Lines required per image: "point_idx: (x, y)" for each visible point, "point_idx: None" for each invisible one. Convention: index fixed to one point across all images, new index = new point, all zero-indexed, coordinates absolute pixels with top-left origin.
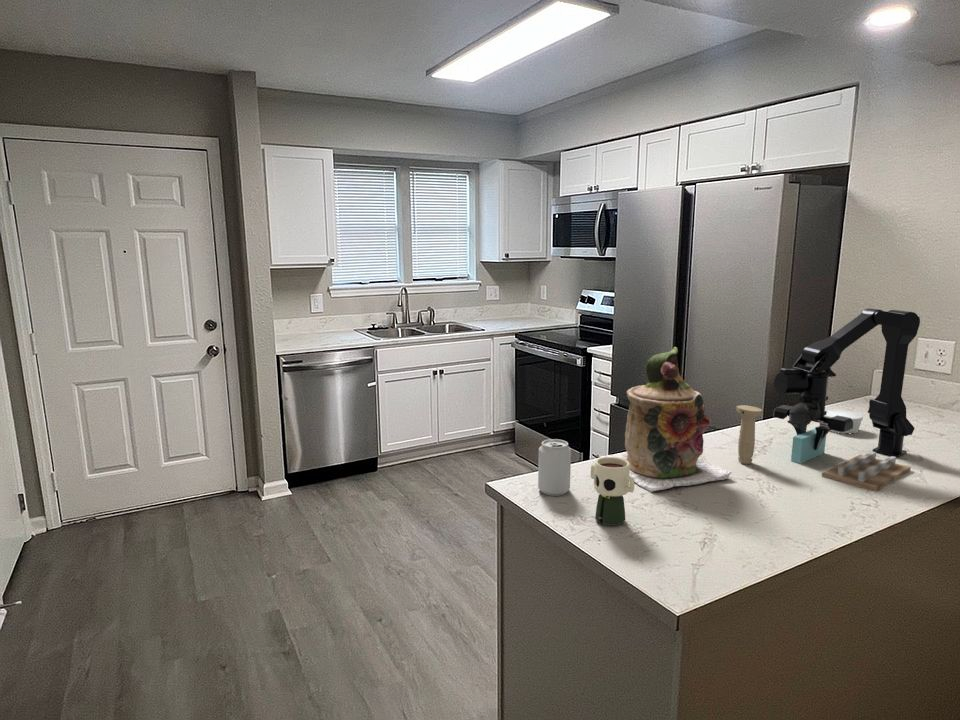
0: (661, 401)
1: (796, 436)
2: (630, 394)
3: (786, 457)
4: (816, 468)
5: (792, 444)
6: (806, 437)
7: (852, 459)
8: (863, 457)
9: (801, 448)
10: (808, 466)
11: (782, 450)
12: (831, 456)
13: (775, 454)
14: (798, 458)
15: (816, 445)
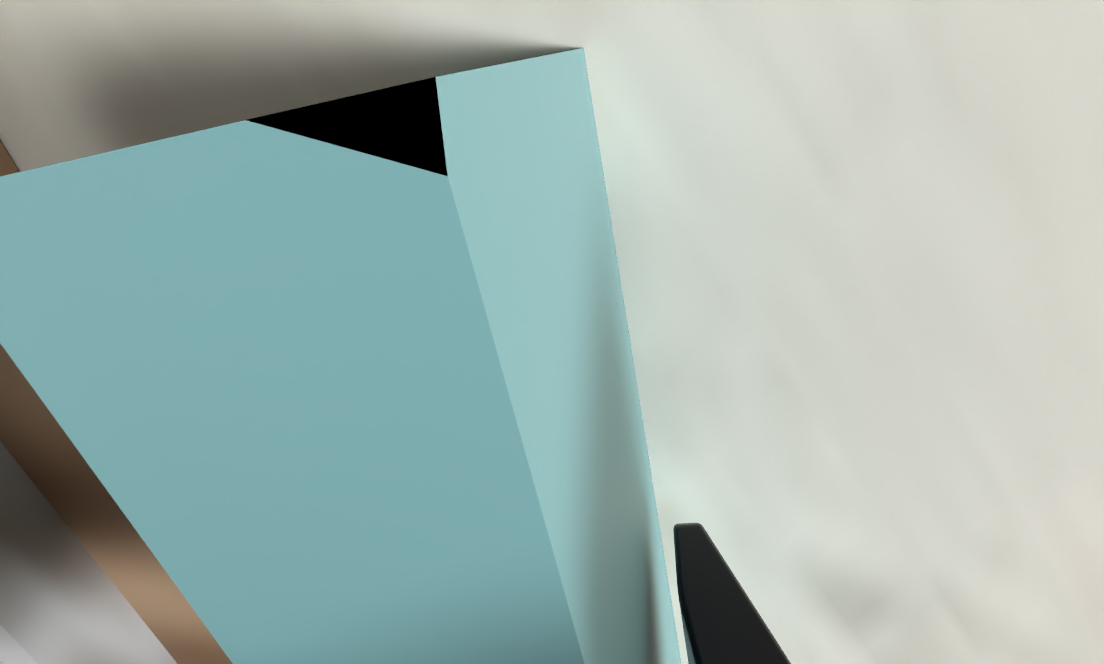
0: None
1: (375, 316)
2: None
3: (752, 163)
4: (176, 121)
5: (531, 62)
6: (181, 566)
7: None
8: (8, 653)
9: (266, 123)
10: (277, 88)
11: (981, 412)
12: None
13: (985, 126)
14: (430, 82)
15: None
